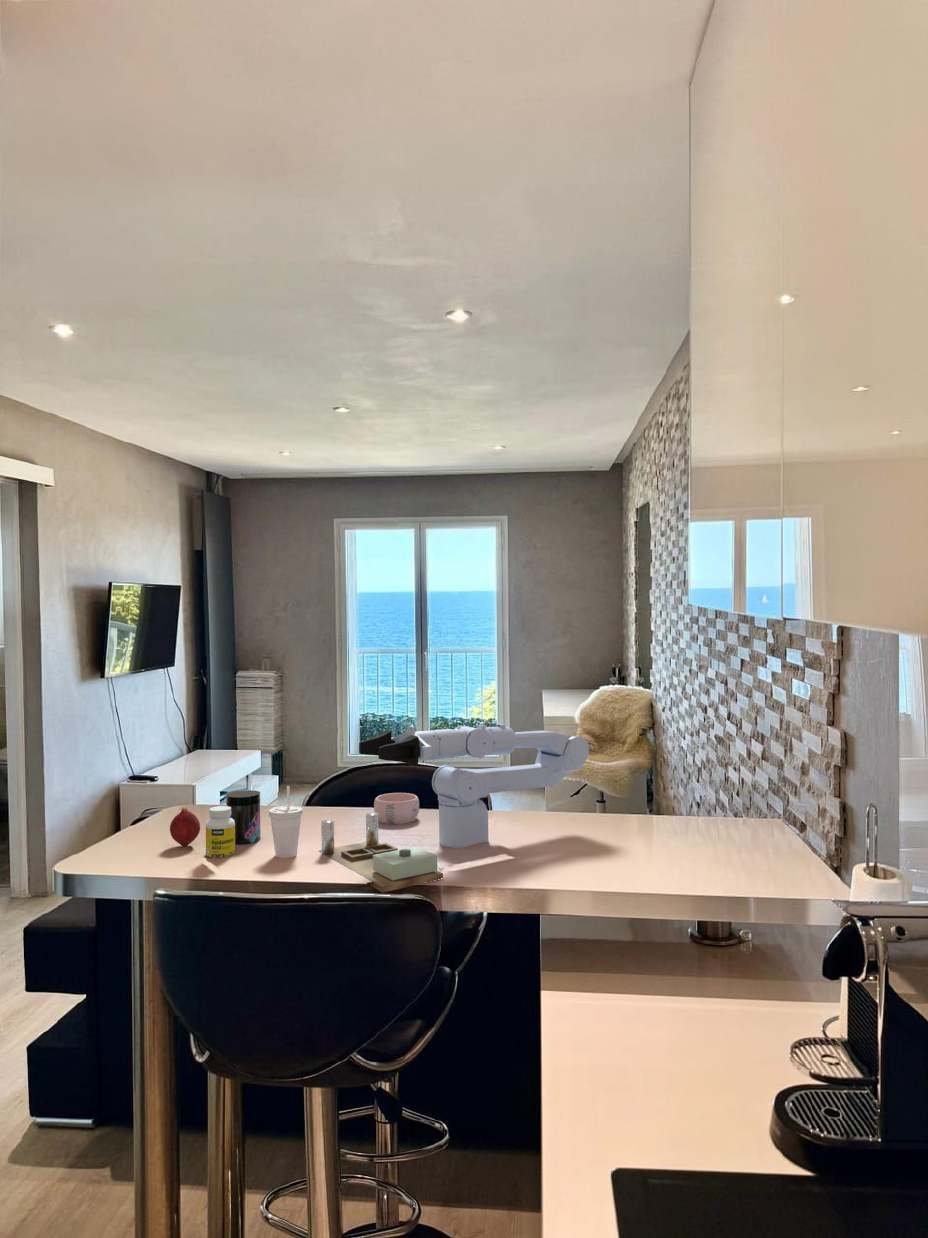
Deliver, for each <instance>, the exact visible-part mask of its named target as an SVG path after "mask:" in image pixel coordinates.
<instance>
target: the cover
mask: <svg viewBox="0 0 928 1238" xmlns="http://www.w3.org/2000/svg"><path fill="white" fill-rule="evenodd" d="M373 870H374V871H376V872H378V873H379V874H381V875H383V876H385V877H387V878H389V879H391V880H397V879H402V878H407V877H411V876H416V875H421V874H425V873H430V872H434V871H438V855H437V854H434V853H432V852H431V851H428V850H427V849H424V848H421V847H419V846H412V847H407V848H403V849H402V848H401V849H398V850H396V851H391V852H386V853H381V854H375V855H373Z"/></svg>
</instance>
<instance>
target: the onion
mask: <svg viewBox="0 0 928 1238" xmlns="http://www.w3.org/2000/svg"><path fill="white" fill-rule="evenodd" d="M200 832H201V823H200V820H199V819H198V817H197V816H196V815H195V814H194V813H193V812H191V811H189V810H188V808H187V806H183V807H181V811H180V812H179V813H177V814H176V815H175V816H174V818H173V819H172V820H171V822H170V824H169V833H170V836H171V838H172V839H173V840H174V842H176V843H177V844H179V845H181V846H182V847H184V848H185V847H187V846H189V845H190V844H191V843H193V842H194V841H195V840H196V838H198V836H199V834H200Z"/></svg>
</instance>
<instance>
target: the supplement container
mask: <svg viewBox="0 0 928 1238" xmlns="http://www.w3.org/2000/svg"><path fill="white" fill-rule="evenodd" d="M225 803H226V804H225V806H228V807H231V816H230V818H232V819H233V820H234V821H235V846H236V845H237V846H240V845H241V846H242V845H243V846H245V845H251V844H255V843H258V842H259V841H261V840H262V837H261V836H262V835H261V833H262V832H261V830H262V829H261V792H260V791H259V790H254V789H253V790H251V789H245V790H244V789H243V790H235V791H230V792H227V793H226V794H225Z"/></svg>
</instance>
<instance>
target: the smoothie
mask: <svg viewBox="0 0 928 1238" xmlns="http://www.w3.org/2000/svg"><path fill="white" fill-rule="evenodd" d="M290 787H291V786H289V785H288V786H286V805H281V806H274V807H272V808H270V809H268V817H269V818H270V823H271V830H272V831H271V832H272V836H273V837H272V840H273V845H274V853H275V857H276V858H278V859H279V858H280V859H290V858H294V857H296V856H297V855H298V849H299V839H300V829H301V821H302V816H303V814H304V811H303V807H302V806H298V805H291V788H290Z"/></svg>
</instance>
